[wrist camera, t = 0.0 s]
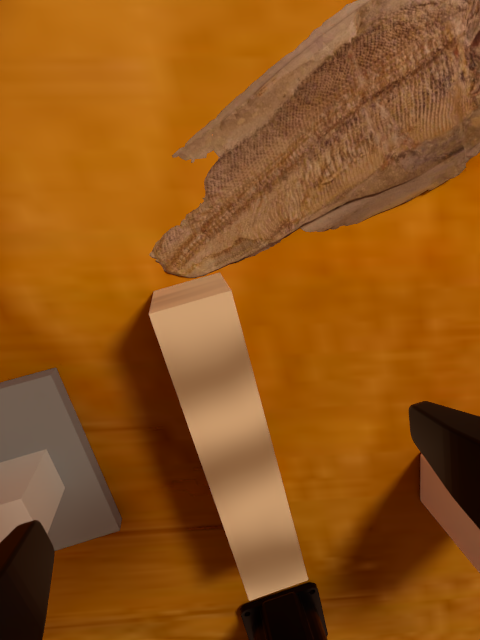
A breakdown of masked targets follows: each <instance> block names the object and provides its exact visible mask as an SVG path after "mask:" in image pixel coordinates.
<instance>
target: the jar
mask: <svg viewBox="0 0 480 640" xmlns="http://www.w3.org/2000/svg"><path fill="white" fill-rule="evenodd" d="M420 501H421V502H422V503H423V505H424V506H425V507H426V508H427V510H428V511H429V512H430V513H431V514H432V516H433V517H434V518H435V519H436V521H437V522H438V523H439V524H440V525H441V527H442V528H443V529H444V530H445V531H446V533H447V534H448V535H449V536H450V538H451V539H452V540H453V541H454V542H455V544H456V545H457V546H458V547H459V549H460V550H461V551H462V552H463V553H464V555H465V556H466V557H467V558H468V560H469V561H470V562H471V563H472V564H473V566H474V567H475V568H476V569H477V570H478V572H479V573H480V529H479V528H478V527H477V526H476V525H475V523H474V522H473V521H472V520H471V519H470V518H469V516H468V515H467V514H466V513H465V512H464V510H463V509H462V508H461V507H460V506H459V505H458V503H457V502H456V501H455V500H454V498H453V497H452V496H451V494H450V493H449V492H448V490H447V489H446V488H445V486H444V485H443V483H442V482H441V480H440V479H439V478H438V476H437V475H436V473H435V472H434V470H433V469H432V467H431V466H430V465H429V463H428V462H427V460H426V459H425V457H424V456H423V455H422V453H421V455H420Z"/></svg>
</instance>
